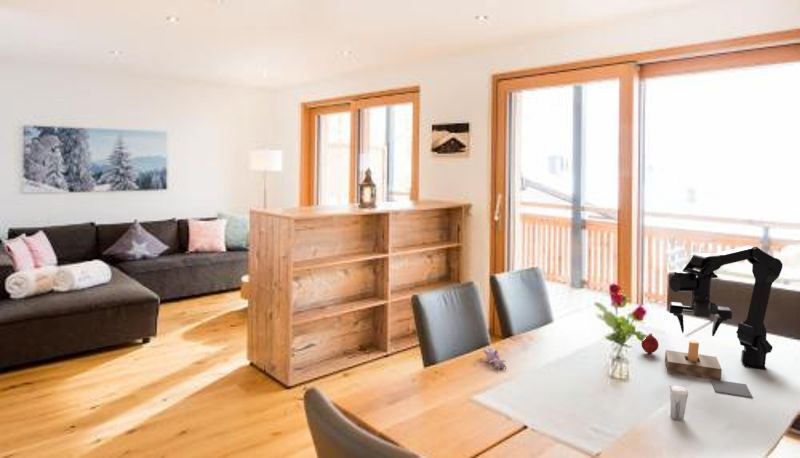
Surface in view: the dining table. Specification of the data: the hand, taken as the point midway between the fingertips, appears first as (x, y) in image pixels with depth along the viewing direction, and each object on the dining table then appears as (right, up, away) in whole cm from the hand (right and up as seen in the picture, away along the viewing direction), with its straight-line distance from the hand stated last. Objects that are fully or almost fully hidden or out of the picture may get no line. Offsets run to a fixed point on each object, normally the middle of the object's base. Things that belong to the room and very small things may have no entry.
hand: (697, 334), depth 185 cm
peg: (-2, -13, +1) cm, 13 cm away
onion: (-9, -11, +16) cm, 21 cm away
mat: (+3, -15, -14) cm, 20 cm away
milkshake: (-25, -17, -33) cm, 45 cm away
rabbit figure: (-70, -12, +6) cm, 71 cm away
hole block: (-2, -13, +1) cm, 13 cm away
